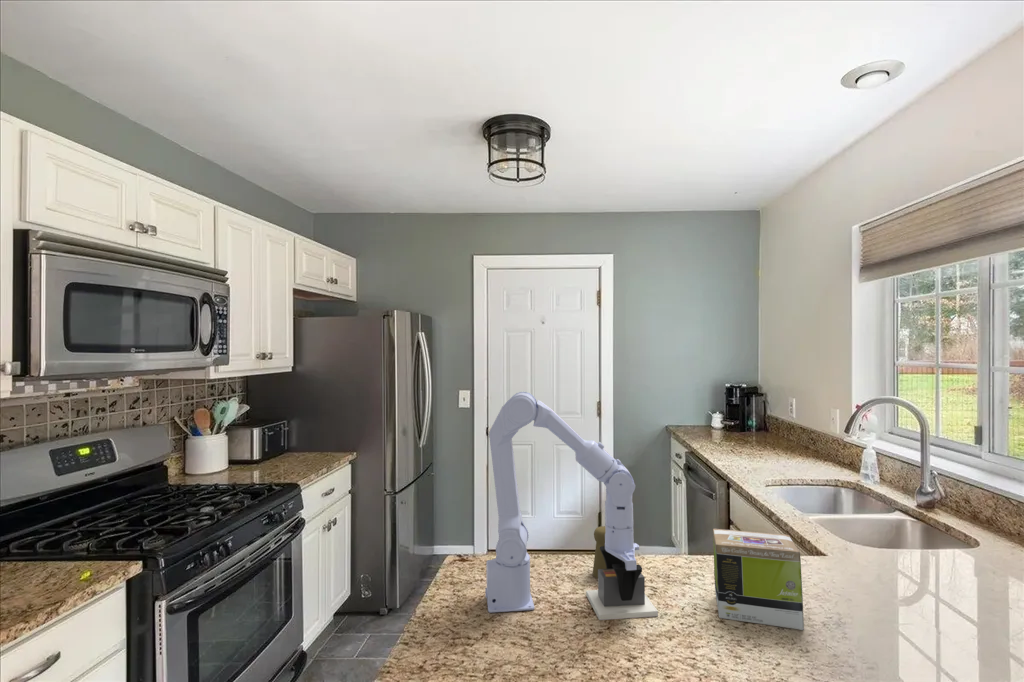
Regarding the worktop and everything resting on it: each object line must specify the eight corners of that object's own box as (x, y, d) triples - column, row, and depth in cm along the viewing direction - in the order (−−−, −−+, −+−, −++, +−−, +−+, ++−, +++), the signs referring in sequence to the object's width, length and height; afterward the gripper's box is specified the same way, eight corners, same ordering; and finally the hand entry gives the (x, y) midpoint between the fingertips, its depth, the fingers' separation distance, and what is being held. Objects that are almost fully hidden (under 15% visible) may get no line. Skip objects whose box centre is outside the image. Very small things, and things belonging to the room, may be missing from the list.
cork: (618, 581, 112) (618, 533, 112) (592, 579, 113) (591, 531, 113) (618, 570, 118) (617, 524, 118) (593, 568, 119) (592, 522, 119)
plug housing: (604, 606, 99) (603, 577, 99) (598, 595, 103) (598, 568, 103) (644, 604, 100) (644, 576, 100) (637, 593, 104) (636, 566, 104)
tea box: (792, 606, 100) (791, 533, 101) (804, 632, 91) (802, 552, 91) (713, 595, 105) (712, 526, 106) (717, 619, 96) (715, 543, 96)
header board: (599, 620, 96) (598, 602, 96) (586, 595, 106) (586, 578, 106) (658, 616, 97) (657, 598, 97) (639, 591, 107) (639, 575, 107)
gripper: (651, 536, 95) (652, 607, 95) (626, 512, 109) (627, 573, 109) (615, 538, 94) (617, 609, 94) (595, 513, 109) (596, 575, 108)
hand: (620, 590), depth 101 cm, fingers open, 7 cm apart
